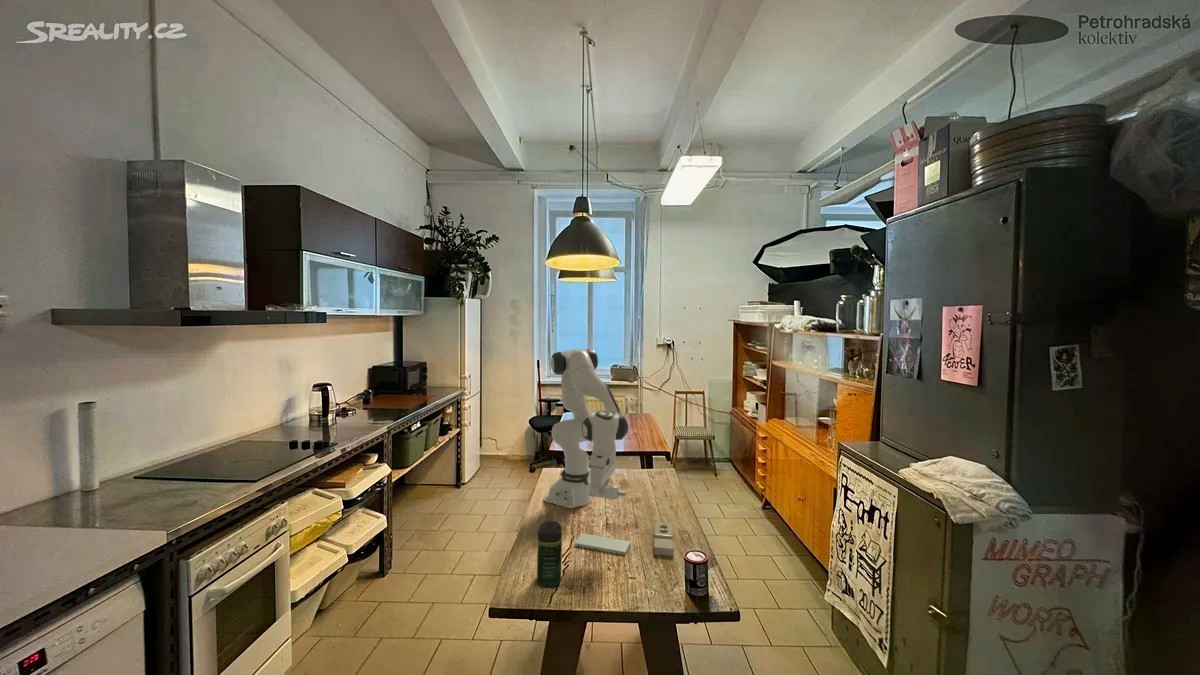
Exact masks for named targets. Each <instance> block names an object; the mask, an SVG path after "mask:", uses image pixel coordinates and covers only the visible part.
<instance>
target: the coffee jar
mask: <svg viewBox="0 0 1200 675" xmlns="http://www.w3.org/2000/svg"><path fill="white" fill-rule="evenodd" d="M562 532H563V530H562V525H561V524H560V523H559V522H557V521H556V520H545V521H544V522H542V523H541V524H540V525H539V527H538V530H537V569H536V570H537V572H536V577H537V578H536V582H537V585H538V586H539V587H543V588H547V587H549V588H553V587H557V586H559V584H560V583H561V579H562V557H563V556H562V555H563V553H562V551H563V546H562V545H563V540H562V538H563V536H562V535H563V534H562Z"/></svg>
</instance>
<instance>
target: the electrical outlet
mask: <svg viewBox="0 0 1200 675" xmlns="http://www.w3.org/2000/svg"><path fill="white" fill-rule="evenodd" d="M673 526H674V525H673V523H667V522H654V534H653V535H654V536H653V539H654V540H653V555H657V556H658V555H659V556H669V557H674V552H675V551H674V550H675V547H674V530H673V529H674V528H673Z"/></svg>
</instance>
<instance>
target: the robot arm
mask: <svg viewBox="0 0 1200 675" xmlns="http://www.w3.org/2000/svg"><path fill="white" fill-rule="evenodd" d="M549 364H550V368H551V371H552V372H553V373H554V374H555V375H558V376H561V380H560V384H561V396H562V399H561V400H562V406H563V407H564V409H565V410H567V411H568V412H571V413H572V415H573V418H572V419H566V420H562V421H561V420H560V421H558V422H557V423H554V425H552V429H551V437H552V438H551V439H552V440H553V442H555V443H556V444H557V445H558V446H560V448H561V449H562V452H563V455H564V466H565V468H563V470H562V471H561V472H560V474H559V476H560V478H558V480H556V481H554V482H553V483H552V484H551V485H550V488H549V491H548V492H547V493H546V494H545V496H544V498H543V502H544V501H545V502H544V503H547V502H549V503H548V504H551V503H553V504H552V505H554V504H556V506H558V505H559V506H558V507H562V506H563V508H566V509H573V508H577V507H583V506H587V505H589V504H591V503H592V501H593V500H592V496H590V495H588V484H589V483H590V482H591V486H592V487H593V488H598V490H599V494H601V495H603V493H604V487H603V486H604V483H607V484H610V479H611V476H612V475H613V474H614V473H615V471H616V460H617V459H616V456H617V455H616V454H617V451H616V450H617V447H616V441H621V440H623V439H624V438H625V437H626V436H627V434H628V432H629V424H628V421H627V419H626V417H625V416H624V414H623V413H622V411H621V409H620V407H619V405H618V403H617V401H616V399H615V397H614V395H613V393H612V391H611V389H610V387H609V385H607V383H606V382H605V381H604V380H602V379H601V378H600V377H599V376H598V374H597V372H596V369H597V368H598V364H599V357H598V353H597V352H596V351H595V350H594V349H589V348H586V349H572V350H566V351H557V352H554V353H553V354H552V355H551V358H550V363H549ZM587 396H588V397H592V398H594V399H597V400H599V401H600V402H601V403H602V404H603V407H604V409H605V410H599V411H597V412H595V413H594V414H593V413H592V412H591V410H590V408H589V405H588V402H587ZM587 441H588V442H592V452H591V455H589V454H588V453H587V451H586V450H584V449H581V448H580V443H582V442H587ZM589 467H590V469H589Z"/></svg>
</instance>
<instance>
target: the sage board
mask: <svg viewBox="0 0 1200 675" xmlns="http://www.w3.org/2000/svg"><path fill="white" fill-rule="evenodd" d="M575 545H576V546H575ZM631 545H632V541H631V540H630V541H629V540H623V539H617V538H612V537H607V536H606V537H605V536H599V535H596V534H595V535H594V534H589V533H584V532H583V533H582V532H581V533H580V535H579V536H578V537H577V539H576V540H575V541H574V546H575V547H577V546H582V547H581V548H583V547H586V548H585V549H588V548H593V549H592V550H594V549H598V550H597V551H599V550H603V551H602V552H605V551H609V552H608V553H610V552H613V553H612V554H616V553H617V555H621V554H622V556H626V555H627V553H628V551H629V549H630V547H631Z"/></svg>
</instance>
